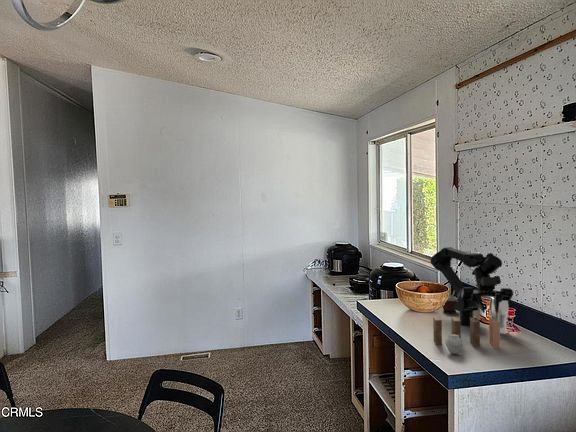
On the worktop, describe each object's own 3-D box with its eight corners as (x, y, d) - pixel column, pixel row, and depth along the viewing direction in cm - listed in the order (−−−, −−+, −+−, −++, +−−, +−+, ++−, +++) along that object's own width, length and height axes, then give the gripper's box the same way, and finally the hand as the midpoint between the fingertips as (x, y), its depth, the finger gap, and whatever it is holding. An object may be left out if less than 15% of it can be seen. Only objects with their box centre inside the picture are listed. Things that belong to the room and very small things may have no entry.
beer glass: (506, 330, 171) (506, 295, 170) (509, 335, 164) (509, 300, 163) (488, 328, 173) (488, 295, 172) (491, 334, 166) (491, 299, 166)
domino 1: (435, 344, 156) (435, 320, 156) (433, 340, 161) (433, 316, 161) (441, 345, 156) (441, 320, 155) (439, 340, 161) (439, 316, 160)
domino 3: (473, 346, 153) (473, 321, 153) (470, 342, 158) (470, 317, 158) (480, 347, 153) (479, 321, 152) (476, 342, 158) (476, 317, 157)
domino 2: (454, 345, 155) (454, 320, 154) (451, 341, 160) (451, 316, 159) (460, 346, 154) (460, 321, 154) (458, 341, 159) (457, 317, 159)
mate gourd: (440, 310, 202) (439, 281, 202) (455, 309, 202) (455, 280, 201) (445, 314, 195) (445, 284, 194) (461, 314, 195) (461, 284, 194)
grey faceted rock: (461, 350, 150) (461, 332, 150) (465, 358, 143) (465, 339, 143) (444, 349, 152) (444, 331, 151) (447, 356, 145) (447, 338, 144)
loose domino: (492, 347, 152) (492, 322, 151) (489, 342, 157) (489, 318, 156) (499, 348, 151) (499, 322, 151) (495, 343, 156) (495, 318, 156)
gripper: (462, 268, 164) (468, 301, 154) (511, 268, 160) (521, 303, 150) (458, 282, 172) (464, 315, 162) (505, 283, 168) (514, 317, 158)
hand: (490, 312), depth 158 cm, fingers open, 4 cm apart
